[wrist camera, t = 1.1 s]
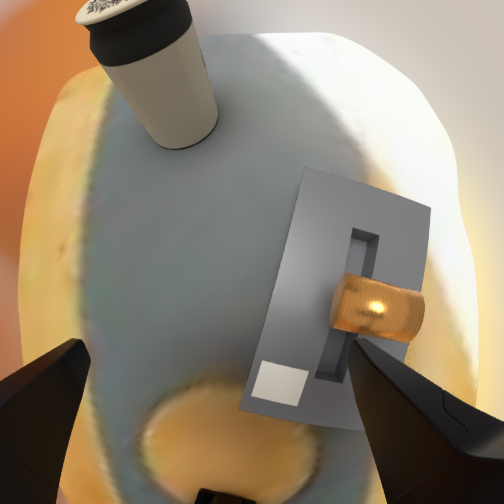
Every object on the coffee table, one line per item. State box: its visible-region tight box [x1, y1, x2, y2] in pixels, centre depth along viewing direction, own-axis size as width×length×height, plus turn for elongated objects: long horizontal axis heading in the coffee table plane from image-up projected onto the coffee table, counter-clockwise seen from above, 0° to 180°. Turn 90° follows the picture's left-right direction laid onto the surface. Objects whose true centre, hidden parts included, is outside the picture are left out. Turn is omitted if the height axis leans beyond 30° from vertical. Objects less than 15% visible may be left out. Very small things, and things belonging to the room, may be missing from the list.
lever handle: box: [329, 272, 425, 343], centre depth 17 cm, size 3×5×10 cm
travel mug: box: [76, 0, 218, 149], centre depth 19 cm, size 8×8×18 cm
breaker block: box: [239, 167, 431, 431], centre depth 21 cm, size 20×12×4 cm, turn 165°
